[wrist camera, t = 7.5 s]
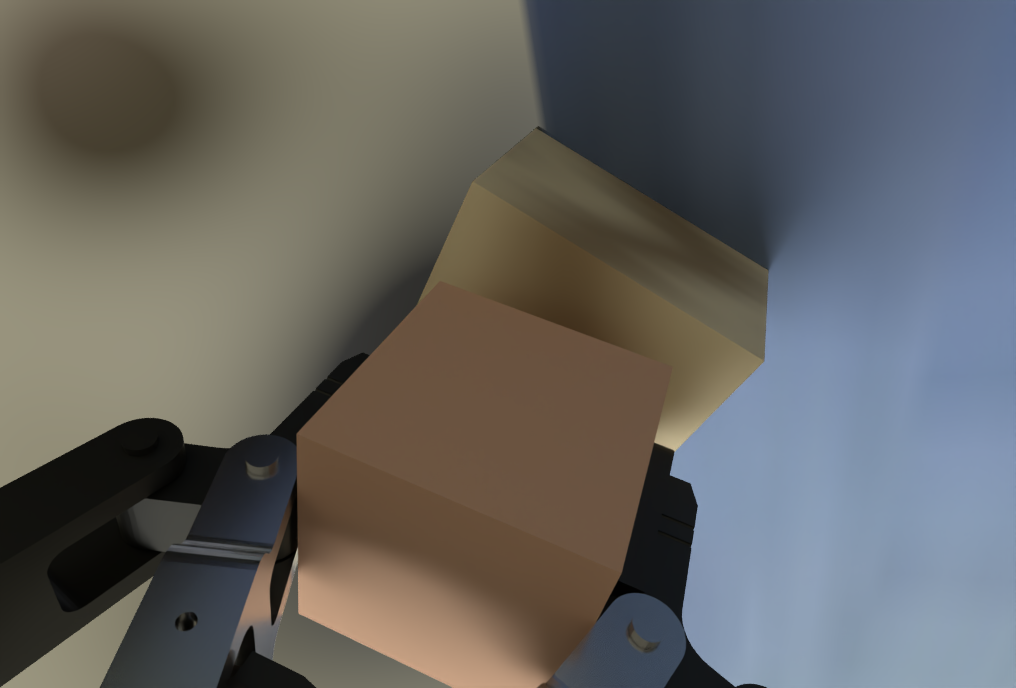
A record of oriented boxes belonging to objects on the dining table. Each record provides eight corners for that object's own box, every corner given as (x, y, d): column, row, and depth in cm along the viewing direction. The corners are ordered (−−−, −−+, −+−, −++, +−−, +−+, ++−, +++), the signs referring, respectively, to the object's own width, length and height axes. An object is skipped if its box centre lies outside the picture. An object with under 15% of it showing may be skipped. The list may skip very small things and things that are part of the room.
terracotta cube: (672, 366, 13) (621, 573, 9) (601, 523, 16) (539, 729, 12) (439, 281, 13) (296, 433, 9) (415, 445, 16) (299, 613, 12)
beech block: (768, 267, 17) (763, 361, 13) (627, 427, 21) (595, 531, 17) (538, 125, 17) (472, 181, 13) (445, 314, 21) (376, 394, 18)
